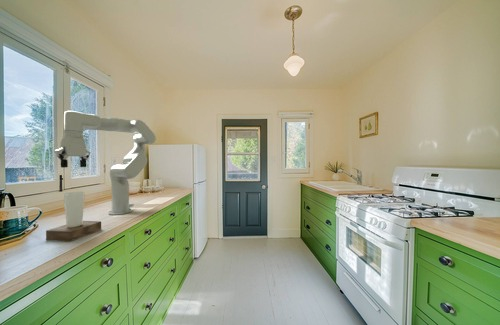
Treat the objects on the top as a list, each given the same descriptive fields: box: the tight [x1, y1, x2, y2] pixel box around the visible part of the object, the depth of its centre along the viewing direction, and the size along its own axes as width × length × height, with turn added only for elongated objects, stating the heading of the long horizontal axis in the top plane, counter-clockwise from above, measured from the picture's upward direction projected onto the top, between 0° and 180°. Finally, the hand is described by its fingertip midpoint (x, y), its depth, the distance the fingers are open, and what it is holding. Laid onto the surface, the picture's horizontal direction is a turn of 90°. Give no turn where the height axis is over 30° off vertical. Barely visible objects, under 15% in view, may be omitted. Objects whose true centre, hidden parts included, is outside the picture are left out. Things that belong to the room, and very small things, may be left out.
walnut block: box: [45, 220, 102, 242], centre depth 87 cm, size 14×12×4 cm
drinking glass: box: [63, 191, 85, 228], centre depth 87 cm, size 7×7×15 cm
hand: (74, 167), depth 102 cm, fingers open, 9 cm apart
